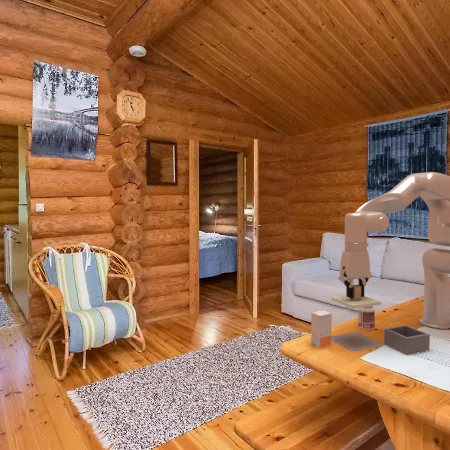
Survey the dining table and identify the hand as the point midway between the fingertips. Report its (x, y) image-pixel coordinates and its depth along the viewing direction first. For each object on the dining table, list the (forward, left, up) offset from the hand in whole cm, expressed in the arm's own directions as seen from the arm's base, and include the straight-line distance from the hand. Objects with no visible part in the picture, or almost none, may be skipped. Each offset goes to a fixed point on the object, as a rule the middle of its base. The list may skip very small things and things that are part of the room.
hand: (355, 296), depth 131 cm
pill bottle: (-14, -10, -17) cm, 24 cm away
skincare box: (+13, -2, -17) cm, 22 cm away
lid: (0, 0, -2) cm, 2 cm away
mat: (0, 0, -17) cm, 17 cm away
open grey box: (-13, +11, -17) cm, 24 cm away
